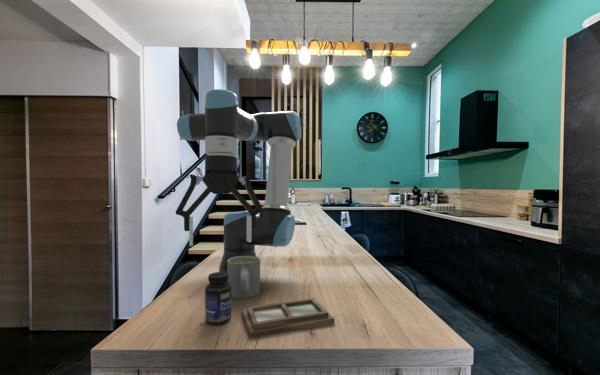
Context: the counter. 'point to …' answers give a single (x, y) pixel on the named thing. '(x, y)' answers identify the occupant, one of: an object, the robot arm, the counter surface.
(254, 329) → the divided wooden tray
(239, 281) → the coffee mug
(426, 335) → the counter surface
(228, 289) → the pill bottle
